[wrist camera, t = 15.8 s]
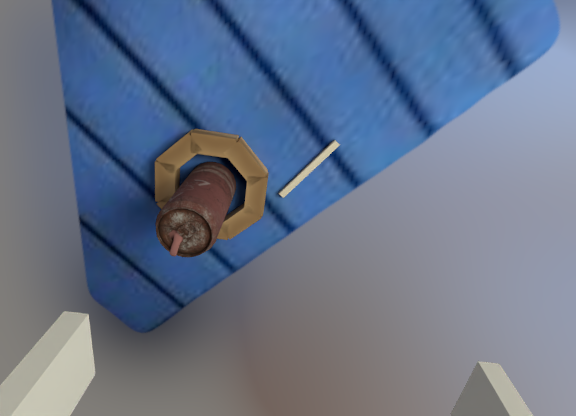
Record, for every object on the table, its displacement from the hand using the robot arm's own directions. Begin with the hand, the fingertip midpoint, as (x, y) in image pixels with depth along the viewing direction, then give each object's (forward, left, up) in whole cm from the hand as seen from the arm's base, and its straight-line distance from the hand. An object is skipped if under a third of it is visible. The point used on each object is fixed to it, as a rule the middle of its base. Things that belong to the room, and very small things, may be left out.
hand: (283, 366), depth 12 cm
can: (+8, -9, -35) cm, 37 cm away
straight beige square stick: (+4, +3, -35) cm, 35 cm away
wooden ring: (+8, -9, -35) cm, 37 cm away
